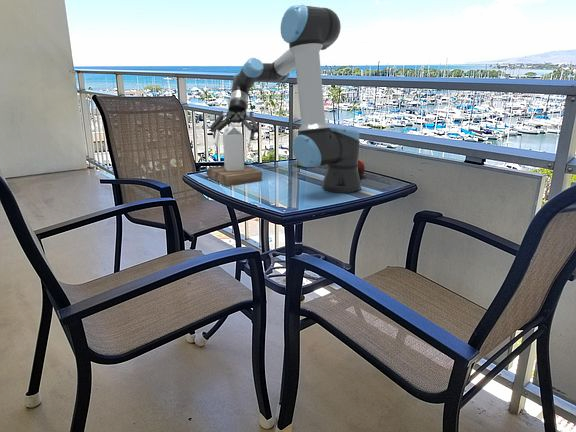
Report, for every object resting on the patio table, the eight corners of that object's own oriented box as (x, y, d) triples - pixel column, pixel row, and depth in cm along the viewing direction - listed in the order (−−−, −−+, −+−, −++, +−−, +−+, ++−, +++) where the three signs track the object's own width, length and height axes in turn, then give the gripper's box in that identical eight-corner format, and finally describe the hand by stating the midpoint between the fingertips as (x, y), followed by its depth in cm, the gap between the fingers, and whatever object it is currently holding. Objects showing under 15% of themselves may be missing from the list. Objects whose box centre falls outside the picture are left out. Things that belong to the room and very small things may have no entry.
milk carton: (240, 167, 180) (239, 122, 173) (244, 170, 173) (242, 124, 167) (224, 168, 178) (222, 122, 171) (227, 172, 171) (225, 125, 165)
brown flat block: (262, 180, 174) (261, 171, 173) (227, 186, 165) (227, 176, 164) (239, 171, 189) (239, 162, 188) (206, 176, 181) (206, 167, 179)
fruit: (357, 181, 174) (359, 157, 171) (338, 177, 180) (339, 154, 177) (368, 176, 181) (370, 154, 177) (350, 173, 186) (351, 151, 183)
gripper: (268, 110, 181) (263, 151, 172) (211, 109, 183) (204, 149, 174) (266, 98, 174) (261, 140, 165) (207, 97, 176) (199, 139, 167)
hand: (232, 145), depth 170 cm, fingers open, 13 cm apart
